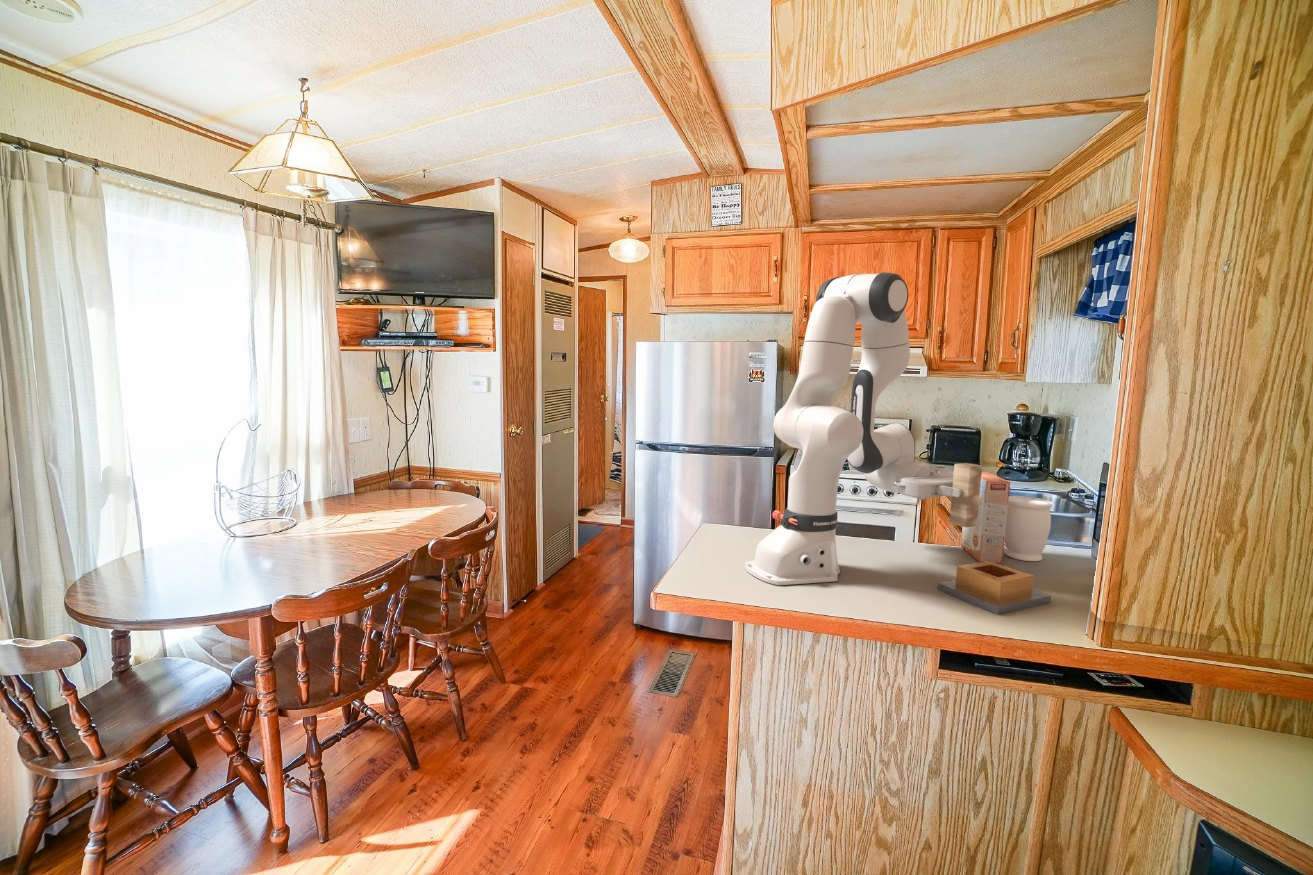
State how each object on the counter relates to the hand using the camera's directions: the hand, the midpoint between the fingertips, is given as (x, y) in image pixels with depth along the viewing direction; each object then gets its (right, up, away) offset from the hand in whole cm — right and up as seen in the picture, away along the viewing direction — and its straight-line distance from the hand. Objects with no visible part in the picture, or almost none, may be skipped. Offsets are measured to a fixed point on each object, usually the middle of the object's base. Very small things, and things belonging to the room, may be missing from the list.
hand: (969, 492), depth 131 cm
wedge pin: (-1, -8, +2) cm, 8 cm away
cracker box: (+13, -18, +18) cm, 29 cm away
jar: (+23, -18, +17) cm, 34 cm away
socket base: (0, -21, -9) cm, 23 cm away
